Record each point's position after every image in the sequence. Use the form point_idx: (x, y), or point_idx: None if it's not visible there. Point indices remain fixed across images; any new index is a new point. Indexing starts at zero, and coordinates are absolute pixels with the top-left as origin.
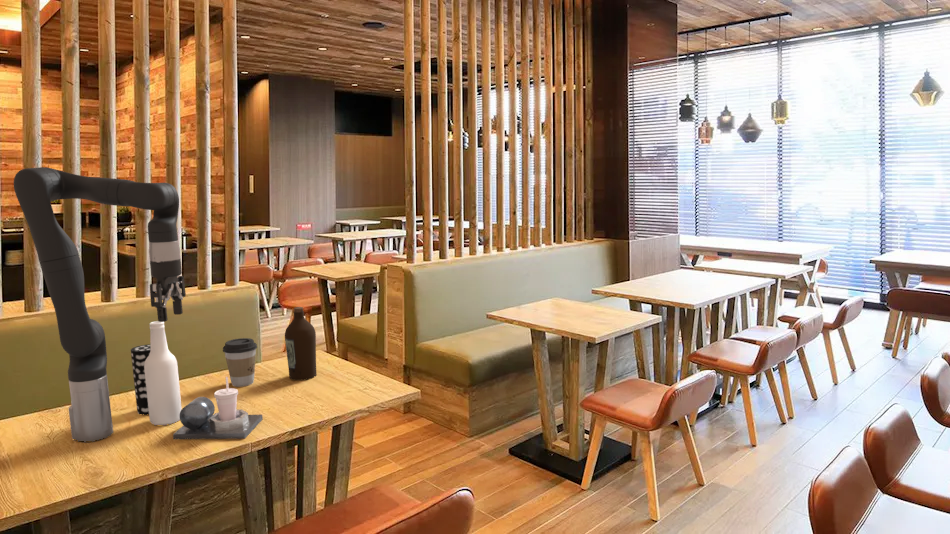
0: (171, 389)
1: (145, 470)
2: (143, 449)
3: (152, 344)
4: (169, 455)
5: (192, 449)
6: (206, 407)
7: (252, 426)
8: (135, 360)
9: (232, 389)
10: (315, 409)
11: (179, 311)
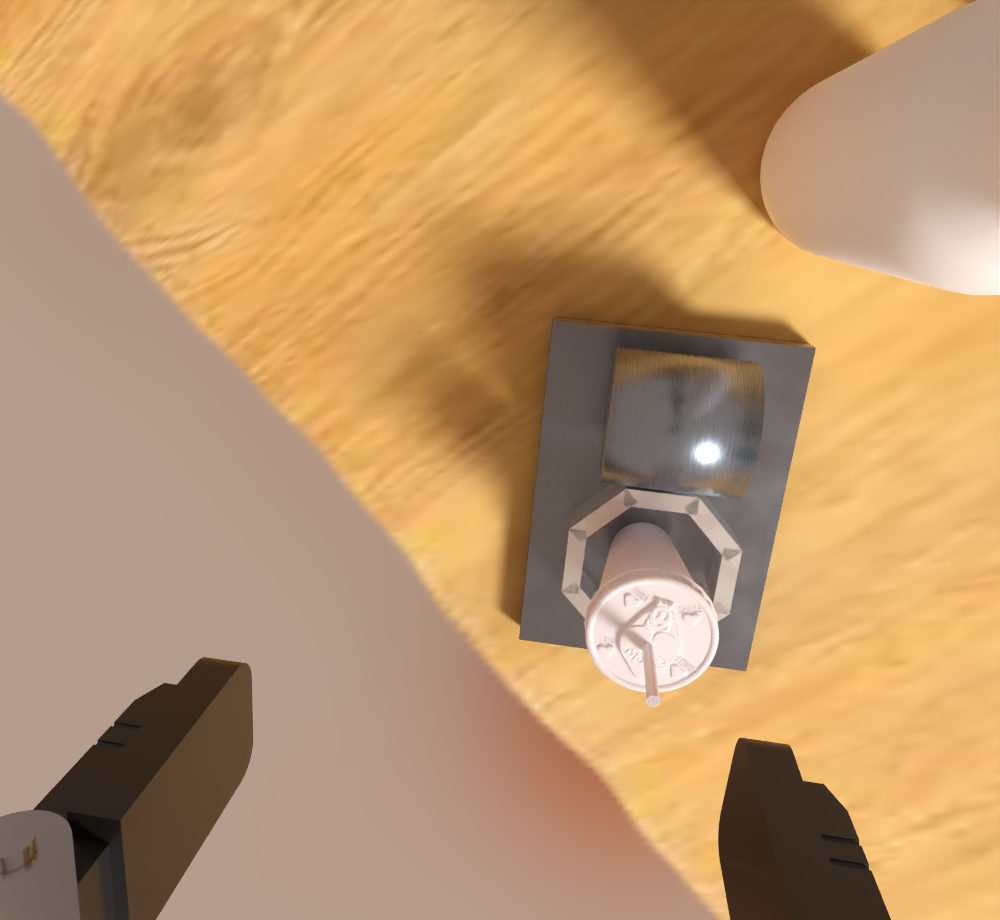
0: (840, 251)
1: (233, 322)
2: (448, 214)
3: None
4: (373, 367)
5: (428, 445)
6: (657, 488)
7: None
8: None
9: (693, 660)
10: None
11: (729, 851)
